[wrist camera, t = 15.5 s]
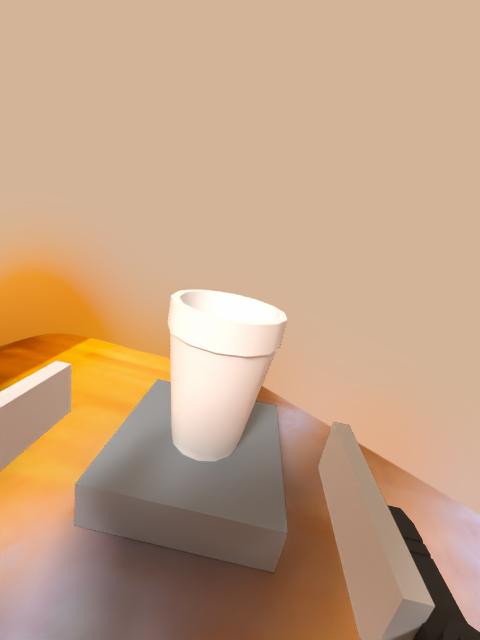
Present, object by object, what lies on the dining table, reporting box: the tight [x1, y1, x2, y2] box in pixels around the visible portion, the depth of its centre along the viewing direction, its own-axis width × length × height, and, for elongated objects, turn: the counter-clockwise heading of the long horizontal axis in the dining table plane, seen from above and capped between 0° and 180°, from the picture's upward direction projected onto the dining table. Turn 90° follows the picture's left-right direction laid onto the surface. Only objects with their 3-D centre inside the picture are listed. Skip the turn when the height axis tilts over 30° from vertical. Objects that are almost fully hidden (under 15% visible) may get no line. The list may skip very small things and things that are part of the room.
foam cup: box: [168, 290, 287, 461], centre depth 23 cm, size 10×9×13 cm
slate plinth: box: [74, 379, 288, 573], centre depth 26 cm, size 15×15×4 cm
